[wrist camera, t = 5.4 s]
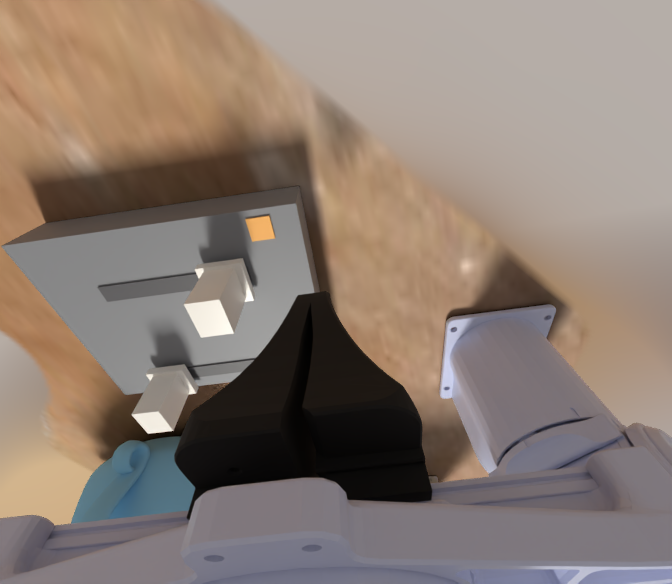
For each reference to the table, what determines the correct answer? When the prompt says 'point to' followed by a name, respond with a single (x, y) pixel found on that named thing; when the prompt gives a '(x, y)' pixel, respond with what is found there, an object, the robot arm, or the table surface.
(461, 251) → the table surface
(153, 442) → the decorative pot
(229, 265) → the handle
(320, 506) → the robot arm
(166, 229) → the slider control panel
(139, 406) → the on handle
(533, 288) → the table surface
